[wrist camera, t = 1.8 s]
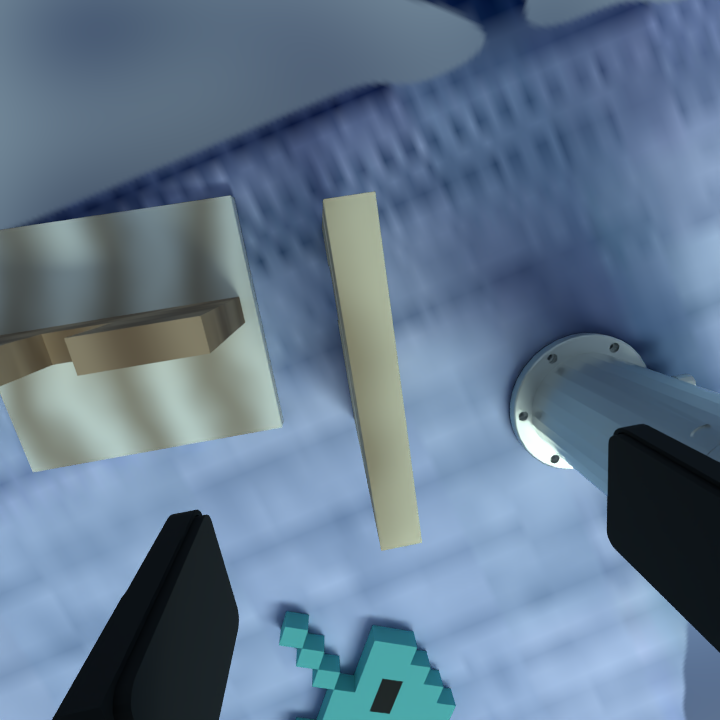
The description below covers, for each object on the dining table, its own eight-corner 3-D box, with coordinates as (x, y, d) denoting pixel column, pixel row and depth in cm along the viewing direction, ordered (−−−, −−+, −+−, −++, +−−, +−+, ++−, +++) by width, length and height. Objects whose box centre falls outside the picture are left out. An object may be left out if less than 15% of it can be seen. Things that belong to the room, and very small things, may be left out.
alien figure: (241, 752, 44) (410, 769, 47) (237, 777, 42) (415, 794, 45) (287, 606, 40) (470, 636, 43) (285, 626, 38) (478, 656, 41)
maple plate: (347, 223, 31) (375, 191, 15) (377, 415, 35) (422, 542, 19) (321, 227, 30) (323, 199, 15) (354, 419, 35) (381, 550, 19)
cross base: (233, 197, 29) (183, 164, 19) (283, 421, 34) (266, 498, 23) (-49, 240, 28) (-276, 230, 18) (43, 464, 33) (-92, 565, 22)
